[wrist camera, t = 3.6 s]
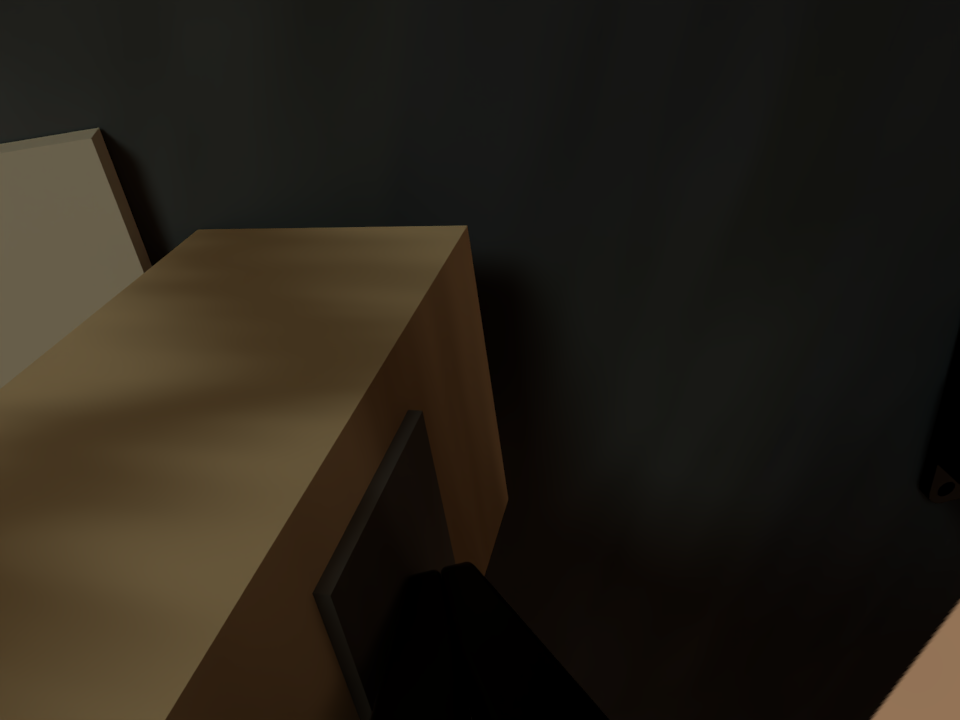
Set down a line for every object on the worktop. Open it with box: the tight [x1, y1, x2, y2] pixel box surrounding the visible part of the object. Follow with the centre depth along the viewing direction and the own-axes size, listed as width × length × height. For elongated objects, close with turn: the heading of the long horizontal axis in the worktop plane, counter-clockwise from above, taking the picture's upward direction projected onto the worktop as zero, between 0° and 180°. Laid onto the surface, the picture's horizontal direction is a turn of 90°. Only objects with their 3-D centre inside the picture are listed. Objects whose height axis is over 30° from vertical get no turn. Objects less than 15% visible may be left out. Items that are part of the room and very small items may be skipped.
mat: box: [0, 128, 152, 389], centre depth 15 cm, size 5×10×1 cm, turn 7°
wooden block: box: [0, 226, 508, 720], centre depth 11 cm, size 5×6×9 cm
